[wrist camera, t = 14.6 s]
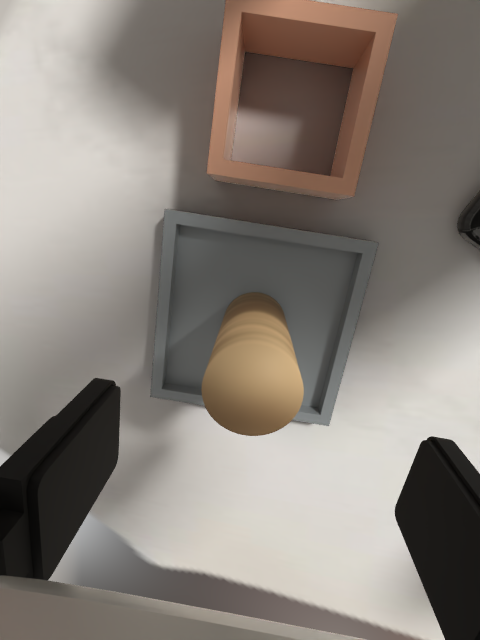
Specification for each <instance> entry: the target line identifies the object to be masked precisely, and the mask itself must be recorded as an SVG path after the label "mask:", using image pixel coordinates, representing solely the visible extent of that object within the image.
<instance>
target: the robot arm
mask: <svg viewBox="0 0 480 640" xmlns="http://www.w3.org/2000/svg"><path fill="white" fill-rule="evenodd" d="M119 421H120V387H118V386H116V384H115V382H114V381H111V380H105V379H100V378H95V379H93V380H92V381H91V382H90V383H89V384H88V385H87V386H86V387H85V388H84V389H83V390H82V391H81V392H80V393H79V394H78V395H77V396H76V397H75V398H74V399H73V400H72V401H71V402H70V403H69V404H68V405H67V406H66V407H65V408H64V409H63V410H62V411H61V412H60V413H58V414H57V415H56V416H54V417H52V418H50V419H49V420H48V421H47V422H46V423H45V424H44V425H43V426H42V427H41V428H40V429H39V430H38V431H36V432H35V433H34V434H33V435H32V436H31V437H30V438H29V439H28V440H27V441H26V442H25V443H24V444H23V445H22V446H21V447H20V448H19V449H18V450H17V451H16V452H15V453H14V454H13V455H12V456H11V457H10V458H9V459H8V460H6V462H4V463H3V464H2V465H1V466H0V640H366V639H361V638H356V637H351V636H346V635H340V634H336V633H330V632H325V631H320V630H314V629H310V628H304V627H299V626H294V625H289V624H284V623H279V622H273V621H268V620H263V619H257V618H252V617H247V616H241V615H237V614H231V613H226V612H221V611H215V610H210V609H204V608H199V607H193V606H188V605H183V604H178V603H172V602H167V601H162V600H156V599H151V598H145V597H140V596H135V595H129V594H124V593H118V592H113V591H107V590H101V589H95V588H89V587H83V586H77V585H71V584H65V583H59V582H52V581H47V580H48V579H49V578H50V577H51V575H52V574H53V572H54V570H55V569H56V567H57V565H58V564H59V562H60V560H61V558H62V557H63V555H64V553H65V552H66V550H67V548H68V547H69V545H70V543H71V542H72V540H73V538H74V536H75V535H76V533H77V531H78V530H79V528H80V526H81V525H82V523H83V521H84V519H85V518H86V516H87V514H88V513H89V511H90V509H91V508H92V506H93V504H94V503H95V501H96V499H97V497H98V496H99V494H100V492H101V491H102V489H103V487H104V486H105V484H106V482H107V480H108V479H109V477H110V475H111V474H112V472H113V470H114V468H115V466H116V464H117V460H118V451H119ZM395 517H396V521H397V523H398V526H399V528H400V530H401V533H402V535H403V538H404V540H405V543H406V545H407V547H408V550H409V552H410V555H411V557H412V560H413V562H414V564H415V567H416V569H417V572H418V574H419V577H420V579H421V582H422V584H423V586H424V589H425V591H426V594H427V596H428V599H429V601H430V603H431V606H432V608H433V611H434V613H435V616H436V618H437V620H438V623H439V625H440V628H441V630H442V633H443V635H444V638H445V640H480V474H479V472H478V471H477V470H476V469H475V467H474V466H473V465H472V464H471V462H470V461H469V460H468V459H467V457H466V456H465V455H464V454H463V452H462V451H461V450H460V449H459V447H458V446H457V445H456V444H455V442H453V441H452V440H449V439H444V438H438V437H429V438H428V439H427V440H424V441H422V442H421V444H420V446H419V449H418V451H417V454H416V456H415V459H414V461H413V464H412V466H411V469H410V471H409V474H408V476H407V479H406V481H405V484H404V486H403V489H402V491H401V494H400V496H399V499H398V501H397V504H396V507H395Z"/></svg>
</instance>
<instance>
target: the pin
mask: <svg viewBox="0 0 480 640" xmlns="http://www.w3.org/2000/svg"><path fill="white" fill-rule="evenodd" d="M303 395H304V387H303V381H302V378H301V374H300V370H299V367H298V363H297V359H296V356H295V352H294V348H293V344H292V341H291V337H290V333H289V330H288V326H287V322H286V319H285V315H284V312H283V310H282V308H281V306H280V304H279V303H278V302H277V301H276V300H275V299H273V298H272V297H271V296H269V295H266V294H264V293H259V292H250V293H246V294H243V295H240V296H239V297H237V298H236V299H234V300H233V301H232V302H231V303H230V305H229V306H228V308H227V310H226V312H225V315H224V318H223V321H222V324H221V327H220V330H219V333H218V336H217V339H216V342H215V345H214V348H213V351H212V354H211V356H210V359H209V362H208V365H207V368H206V371H205V374H204V377H203V381H202V398H203V402H204V405H205V407H206V409H207V411H208V413H209V414H210V415H211V417H212V418H213V419H214V420H215V421H216V422H217V423H218V424H220V425H221V426H222V427H224V428H226V429H228V430H230V431H232V432H235V433H237V434H242V435H248V436H259V435H265V434H270V433H272V432H275V431H277V430H279V429H281V428H283V427H284V426H286V425H287V424H288V423H289V422H290V421H291V420H292V419H293V418H294V417H295V416H296V414H297V413H298V411H299V409H300V407H301V404H302V401H303Z"/></svg>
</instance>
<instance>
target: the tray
mask: <svg viewBox="0 0 480 640" xmlns="http://www.w3.org/2000/svg"><path fill="white" fill-rule="evenodd" d="M378 244H379V243H378V242H373V241H368V240H362V239H355V238H349V237H343V236H336V235H330V234H324V233H318V232H311V231H305V230H299V229H292V228H286V227H280V226H273V225H267V224H261V223H254V222H248V221H242V220H235V219H229V218H223V217H217V216H210V215H204V214H198V213H191V212H185V211H179V210H172V209H165V213H164V226H163V239H162V252H161V265H160V278H159V291H158V304H157V317H156V330H155V343H154V356H153V369H152V382H151V395H150V397H155V398H161V399H167V400H173V401H179V402H185V403H192V404H198V405H204V402H203V398H202V381H203V377H204V374H205V371H206V368H207V365H208V362H209V359H210V356H211V354H212V351H213V348H214V345H215V342H216V339H217V336H218V333H219V330H220V327H221V324H222V321H223V318H224V315H225V312H226V310H227V308H228V306H229V305H230V303H231V302H232V301H233V300H234V299H236V298H237V297H239V296H240V295H243V294H246V293H250V292H259V293H264V294H266V295H269V296H271V297H272V298H273V299H275V300H276V301H277V302H278V303H279V304H280V306H281V308H282V310H283V312H284V315H285V319H286V322H287V326H288V330H289V333H290V337H291V341H292V344H293V348H294V352H295V356H296V359H297V363H298V367H299V370H300V374H301V378H302V381H303V387H304V395H303V401H302V404H301V407H300V409H299V411H298V413H297V414H296V416H295V417H294V418H293V419H292V420H295V421H301V422H307V423H313V424H319V425H325V426H329V423H330V420H331V416H332V412H333V409H334V405H335V401H336V398H337V394H338V390H339V387H340V383H341V379H342V376H343V372H344V368H345V365H346V361H347V357H348V354H349V350H350V346H351V343H352V339H353V335H354V332H355V328H356V324H357V321H358V317H359V313H360V310H361V306H362V302H363V299H364V295H365V291H366V288H367V284H368V280H369V277H370V273H371V269H372V266H373V262H374V258H375V255H376V251H377V247H378ZM204 406H205V405H204Z"/></svg>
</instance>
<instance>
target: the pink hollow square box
mask: <svg viewBox="0 0 480 640" xmlns="http://www.w3.org/2000/svg"><path fill="white" fill-rule="evenodd" d="M397 16H398V14H395V13H389V12H382V11H375V10H369V9H362V8H356V7H349V6H342V5H336V4H329V3H322V2H316V1H309V0H226V3H225V12H224V21H223V30H222V39H221V48H220V57H219V66H218V75H217V84H216V93H215V102H214V112H213V121H212V130H211V139H210V148H209V157H208V166H207V174H208V175H209V176H211V177H212V178H213V179H214V180H216V181H220V182H227V183H233V184H239V185H246V186H252V187H259V188H265V189H271V190H278V191H284V192H290V193H297V194H303V195H309V196H316V197H322V198H328V199H335V200H340V199H344V198H349V197H354V195H355V191H356V186H357V182H358V178H359V174H360V170H361V166H362V161H363V157H364V153H365V149H366V145H367V141H368V136H369V132H370V128H371V124H372V120H373V116H374V112H375V107H376V103H377V99H378V95H379V91H380V87H381V82H382V78H383V74H384V70H385V66H386V62H387V57H388V53H389V49H390V45H391V41H392V37H393V32H394V28H395V24H396V20H397ZM245 52H250V53H256V54H263V55H269V56H276V57H282V58H289V59H296V60H302V61H309V62H315V63H322V64H328V65H335V66H341V67H348V68H353V72H352V77H351V81H350V86H349V91H348V95H347V100H346V104H345V109H344V114H343V118H342V123H341V128H340V132H339V137H338V142H337V146H336V151H335V155H334V160H333V165H332V169H331V174H330V176H326V175H320V174H314V173H307V172H301V171H295V170H288V169H282V168H275V167H269V166H263V165H256V164H250V163H243V162H237V161H231V157H232V150H233V142H234V134H235V126H236V119H237V111H238V103H239V96H240V88H241V80H242V72H243V65H244V57H245Z"/></svg>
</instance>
